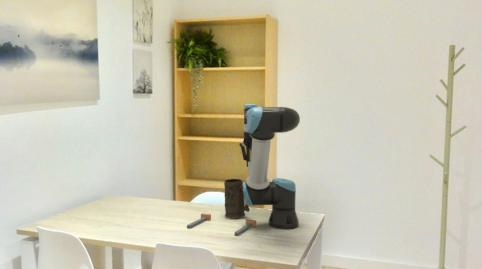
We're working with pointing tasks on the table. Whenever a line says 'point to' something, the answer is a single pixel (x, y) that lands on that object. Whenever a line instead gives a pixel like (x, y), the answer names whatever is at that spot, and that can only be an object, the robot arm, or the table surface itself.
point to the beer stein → (234, 199)
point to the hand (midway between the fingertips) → (250, 172)
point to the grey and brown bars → (208, 217)
